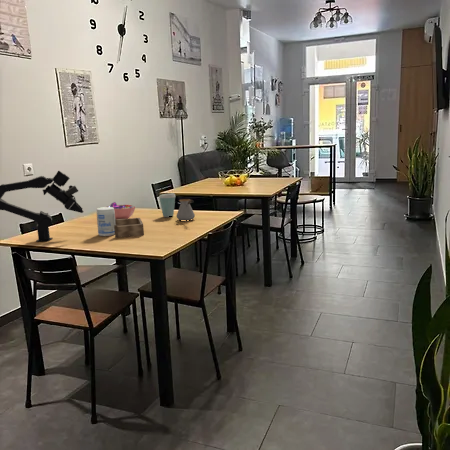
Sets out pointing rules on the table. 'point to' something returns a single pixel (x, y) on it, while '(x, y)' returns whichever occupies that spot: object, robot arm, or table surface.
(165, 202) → the disposable coffee cup
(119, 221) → the walnut crate
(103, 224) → the supplement tub
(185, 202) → the coffee pot
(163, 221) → the table surface
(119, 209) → the cell model
